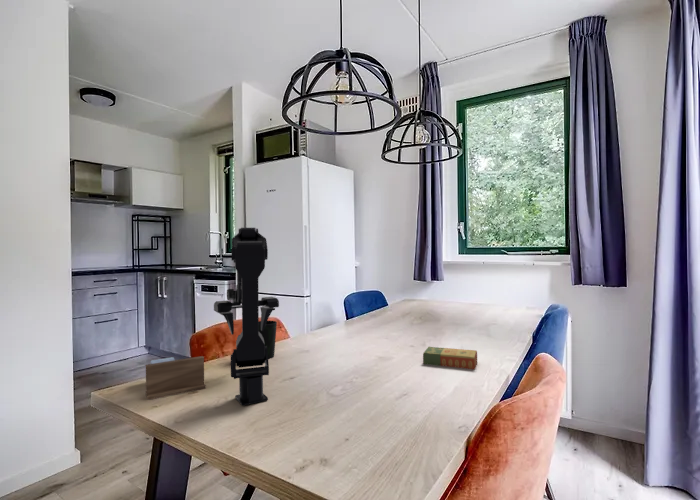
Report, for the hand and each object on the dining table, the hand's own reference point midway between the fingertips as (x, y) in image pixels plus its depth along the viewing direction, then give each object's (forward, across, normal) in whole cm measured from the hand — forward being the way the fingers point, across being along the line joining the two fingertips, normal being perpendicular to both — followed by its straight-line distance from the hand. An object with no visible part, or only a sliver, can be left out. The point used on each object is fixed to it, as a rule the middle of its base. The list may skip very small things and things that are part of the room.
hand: (247, 332), depth 116 cm
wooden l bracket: (+12, +21, +5) cm, 25 cm away
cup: (+12, -10, -12) cm, 20 cm away
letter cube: (+12, +23, -4) cm, 26 cm away
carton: (+13, -57, +29) cm, 65 cm away
